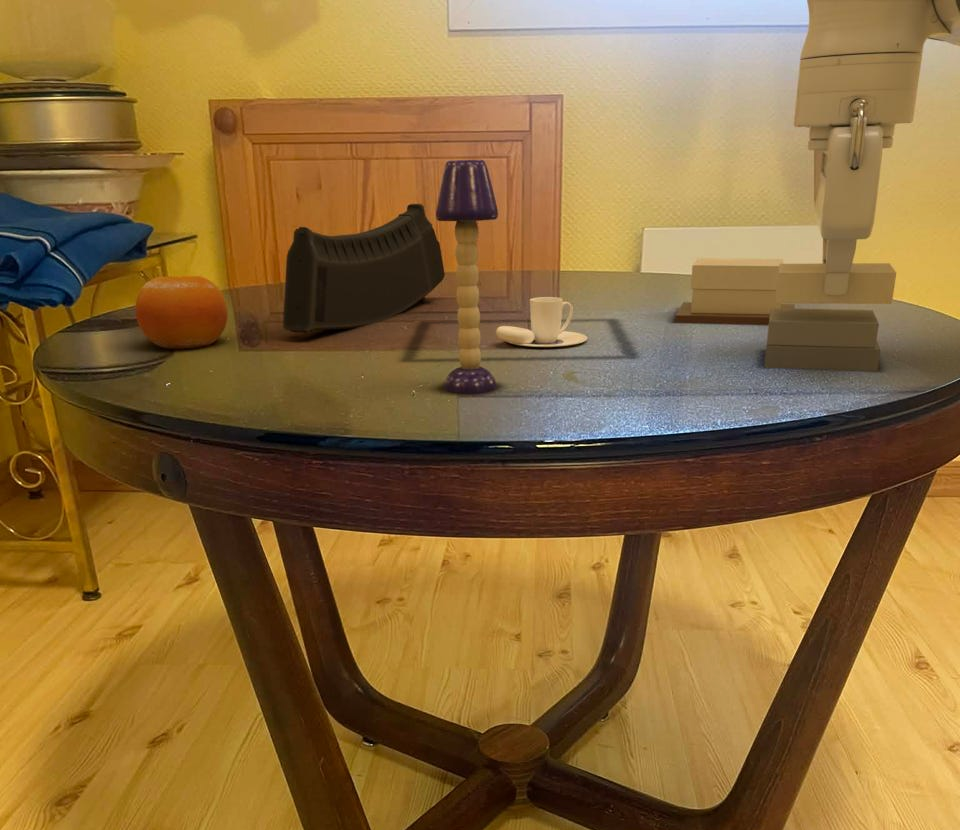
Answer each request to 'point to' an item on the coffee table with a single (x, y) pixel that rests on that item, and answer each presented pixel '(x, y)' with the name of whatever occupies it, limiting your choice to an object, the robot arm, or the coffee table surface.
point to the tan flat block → (863, 288)
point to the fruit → (181, 311)
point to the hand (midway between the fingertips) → (832, 288)
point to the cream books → (732, 292)
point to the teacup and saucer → (543, 325)
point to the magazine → (360, 273)
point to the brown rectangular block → (822, 339)
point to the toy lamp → (467, 264)
